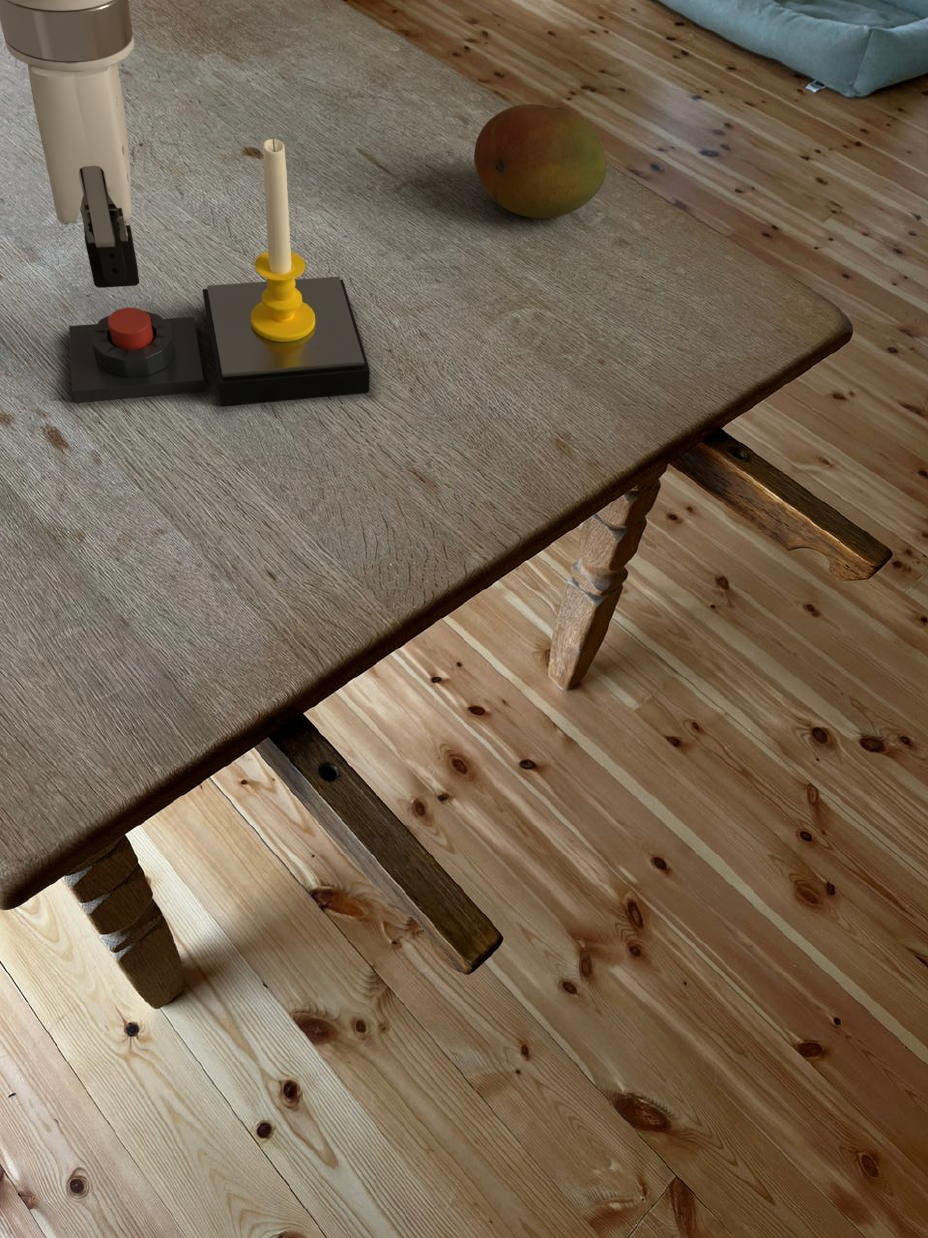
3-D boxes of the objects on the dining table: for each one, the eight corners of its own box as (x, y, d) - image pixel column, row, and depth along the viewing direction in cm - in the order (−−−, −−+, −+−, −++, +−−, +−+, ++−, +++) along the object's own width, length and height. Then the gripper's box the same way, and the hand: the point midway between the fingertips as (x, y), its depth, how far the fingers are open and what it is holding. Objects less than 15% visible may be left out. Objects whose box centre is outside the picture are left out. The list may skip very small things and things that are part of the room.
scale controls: (75, 403, 79) (66, 373, 76) (72, 337, 83) (64, 307, 81) (205, 391, 81) (201, 361, 79) (195, 327, 86) (191, 298, 83)
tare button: (112, 352, 79) (108, 334, 77) (110, 326, 81) (106, 308, 79) (154, 349, 80) (151, 331, 78) (151, 323, 81) (148, 305, 80)
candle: (326, 331, 82) (324, 148, 70) (268, 349, 80) (254, 163, 68) (297, 295, 85) (290, 111, 72) (240, 311, 83) (222, 125, 70)
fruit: (451, 196, 101) (460, 96, 93) (540, 161, 107) (557, 64, 99) (529, 255, 97) (546, 155, 88) (619, 215, 102) (642, 118, 94)
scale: (221, 406, 80) (217, 377, 78) (205, 312, 87) (201, 282, 84) (369, 392, 83) (370, 363, 80) (342, 302, 90) (343, 272, 87)
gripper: (1, -36, 64) (61, 225, 79) (-2, 78, 56) (66, 347, 70) (123, -35, 66) (160, 221, 80) (138, 76, 57) (177, 339, 72)
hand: (116, 279), depth 75 cm, fingers closed
